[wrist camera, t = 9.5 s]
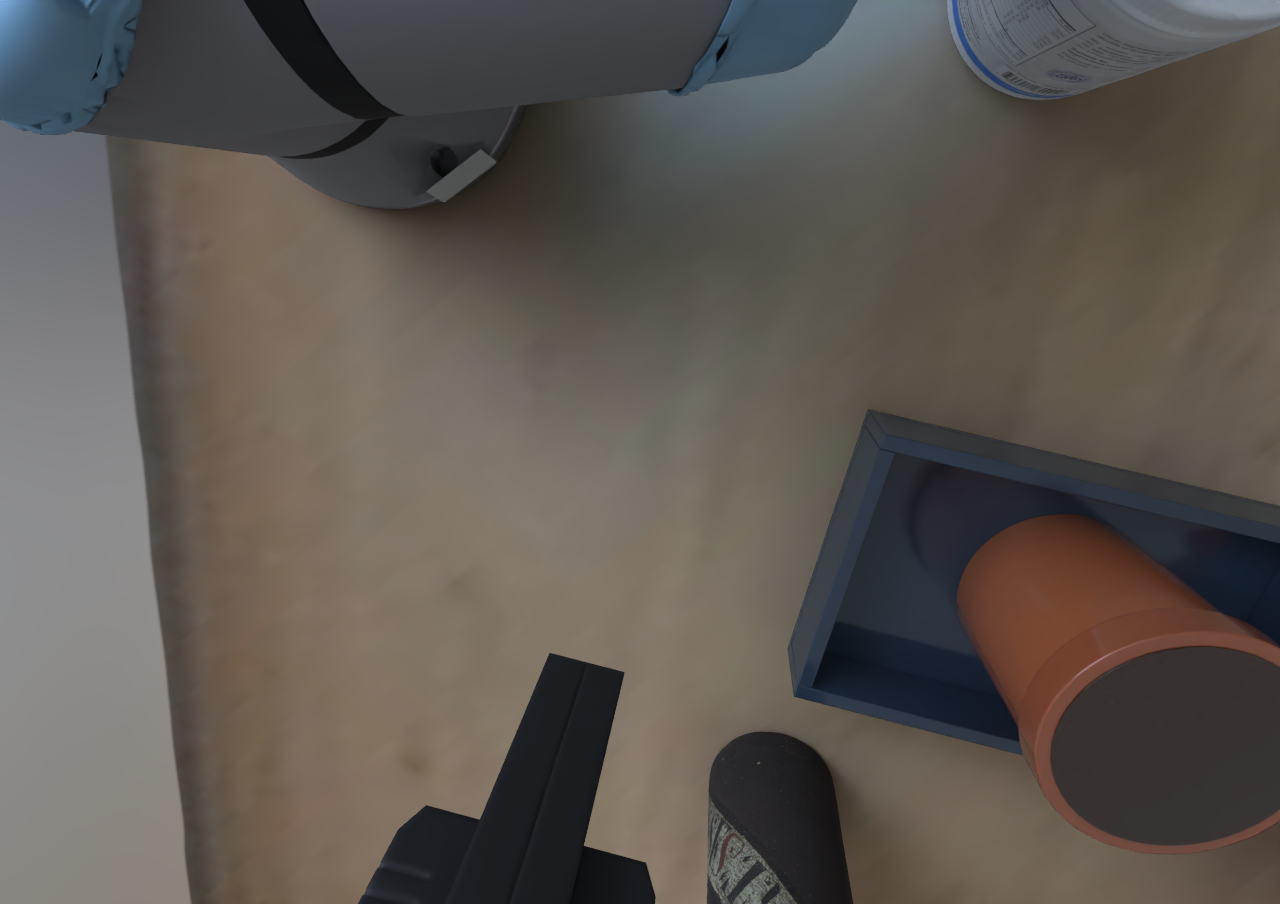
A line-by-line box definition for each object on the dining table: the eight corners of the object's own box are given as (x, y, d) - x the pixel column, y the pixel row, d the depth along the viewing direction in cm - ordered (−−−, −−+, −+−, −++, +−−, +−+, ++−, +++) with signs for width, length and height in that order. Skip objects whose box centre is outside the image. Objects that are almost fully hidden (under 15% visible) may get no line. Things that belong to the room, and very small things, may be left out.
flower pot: (950, 538, 29) (1442, 743, 21) (1013, 470, 41) (1341, 586, 34) (869, 741, 33) (1265, 979, 25) (950, 624, 45) (1232, 759, 37)
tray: (867, 408, 38) (885, 433, 33) (1314, 514, 36) (1393, 554, 32) (787, 648, 43) (793, 696, 38) (1175, 747, 42) (1227, 808, 37)
